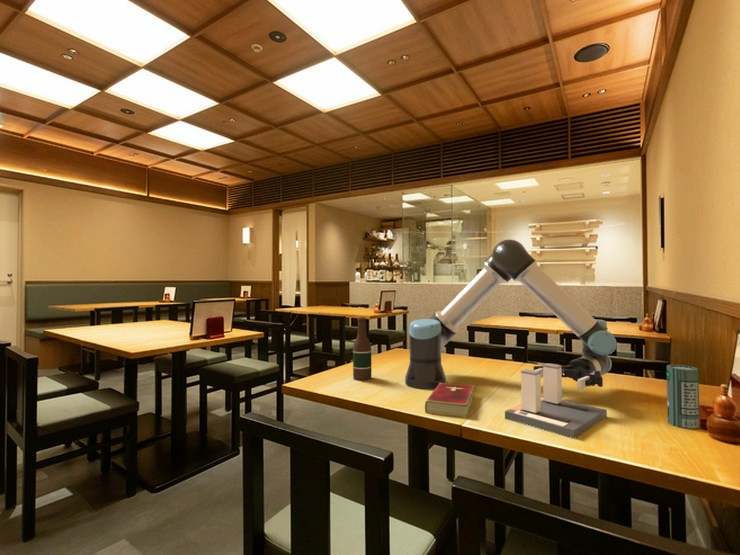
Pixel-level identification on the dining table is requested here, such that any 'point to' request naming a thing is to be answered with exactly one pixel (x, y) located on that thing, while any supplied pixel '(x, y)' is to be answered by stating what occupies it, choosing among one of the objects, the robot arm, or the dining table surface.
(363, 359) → the beer bottle
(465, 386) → the hardcover book
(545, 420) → the switch base
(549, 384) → the back tab
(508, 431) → the dining table surface
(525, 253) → the robot arm
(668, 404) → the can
